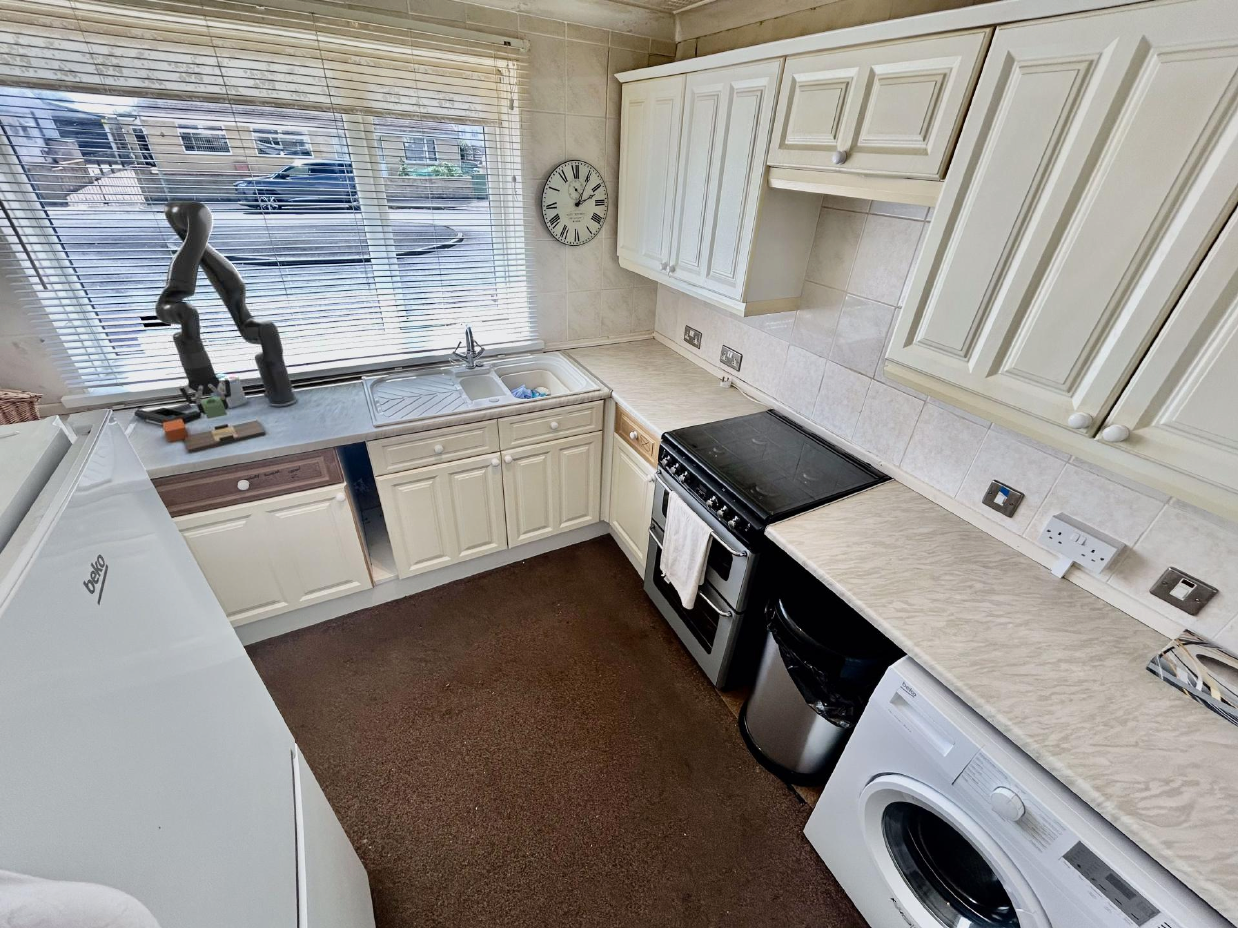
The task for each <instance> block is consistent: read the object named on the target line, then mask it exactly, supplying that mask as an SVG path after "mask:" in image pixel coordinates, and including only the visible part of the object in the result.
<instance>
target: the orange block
mask: <svg viewBox="0 0 1238 928" xmlns="http://www.w3.org/2000/svg"><path fill="white" fill-rule="evenodd" d="M162 426H163V431H164V433H165V436H166V437H167V440H168V442H169V443H171V442H176V441H180V440H185V439H184V437H185V436H189V432H188V430H187V427H186V424H185V422H183V420H182V419H178V420H174V421H169V422H164V423H163V425H162Z"/></svg>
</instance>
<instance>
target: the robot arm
mask: <svg viewBox="0 0 1238 928" xmlns="http://www.w3.org/2000/svg"><path fill="white" fill-rule="evenodd" d="M163 213H164V214H163V215H164V217H165V219H166V222H167V223H168V224H169V226H170V228H171V229H172V231H173V232H174V233H175V234H176V235H177V237H178V238H179V240H180V241H181V242H182V245H181V246H180V247H179V248H178V250H177V252H176V253H175V254H174V255H173V256H172V258H171V260H170V262H169V265H168V268H167V269H168V270H167V274H166V281H165V286H164V287H163V289H162V291H161V292H160V294H159V296H158V299H157V300H156V302H155V307H154V311H155V312H154V313H155V315H156V317H157V319H158V320H159V321H160V322H162V323H163V324H166V325H180V329H181V330H180V331H177V332H174V333H173V335H172V341H173V343H174V346H175V348H176V351H177V353H178V359H179V362H180V363H181V364H180V365H181V366H182V368H183V371H184V374H185V377H186V378H187V384H185V385H180V386H178V389H179V391H180V393H181V395H182V396H183V398H184V399H185V401H187V403H189V404H190V405H195V406H196V407H197V410H198V412H200V413H201V414H202V415H203V416H204V415H206V414H205V411H204V409H203V406H202V403H201V399H203V396H204V395H207V394H211V393H214V392H215V393H216V394H217V395H218V396H219V397H220V398H221V401H222V403H223V405H224V408H225V410H226V411H227V410H228V409H229V408H230V407H229V406H228V403H227V401H226V398H228V397H231V389H230V381H229V380H228V378H225V379H218V378H217V377H216V375H217V374H216V373H215V369H214V367H213V364H212V361H211V359H210V356H209V353H208V352H207V350H206V348H205V346H204V342H203V340H202V337H201V322H200V313H199V312H198V309H197V308H196V307H195V306H194V305H193V304H192V303H190V302H188V301H183V300H185V299H188V298H191V297H193V296H194V295H195V293H196V288H197V281H198V273H199V269H201V270H202V272H203V273H204V275H205V276H206V279H207V280H208V282H209V283H210V285H211V286H212V288H213V289H214V291H215V292H216V294H217V295H218V297H219V298H220V300H221V302H222V303H223V305H224V306H225V308H226V310H227V311H228V313H229V315H230V317H231V319H232V321H233V323H234V325H235V327H236V328H237V330H238V333H239V334H240V336H241V337H242V339H243V340H244V341H245V342H247V343H248V344H250V345H256V346H257V345H259V346H260V347H261V352H259V353H257V354H255V355H254V361H255V365H256V367H257V370H258V373H259V376H260V378H261V379H260V380H261V382H262V385H263V389H264V391H265V392H263V395H264V396H266V397H267V399H268V404H269V406H270V407H274V408H283V407H288V406H291V405H293V404H295V403H296V402H297V397H296V395H295V392H294V391H295V388H294V387H293V384H292V382H291V379H290V376H289V375H290V374H289V373H288V372H289V371H288V369H287V366H286V363H285V360H284V359H285V358H284V348H283V345H282V340H281V335H280V331H279V328H278V327H277V325H276V324H275V323H274V322H273V321H271V320H267V319H256V318H255V317H254V316H253V315H252V314H251V311H250V310H249V308H248V306H247V304H246V303H247V302H246V301H247V300H246V298H247V288H246V284H245V282H244V280H243V278H242V276H241V275H240V272H239V271H238V270H237V267H235V265H234V264H233V263H232V262H231V261H230V260H229V259H228V258H227V257H225V256H224V255H222V254H221V253H220V252H219V251H217V250H216V249H215V248H214V247H213V246H211V244H209V243H208V242H209V239H210V236H211V233H212V231H213V228H214V216H213V213H212V211H211V209H210V208H209V207H208V206H207V205H206V204H205V203H203V202H201V201H196V200H169V201H167V202H166V203H164V206H163ZM219 383H222V385H223V386H225V392H226V393H224V394H222V393H221V392H220V391H219V389H217V387H218V385H219ZM189 389H191V390H192V391H194V392H195V397H194V398H192V397H191V395H190V394H189V392H190V390H189Z"/></svg>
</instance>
